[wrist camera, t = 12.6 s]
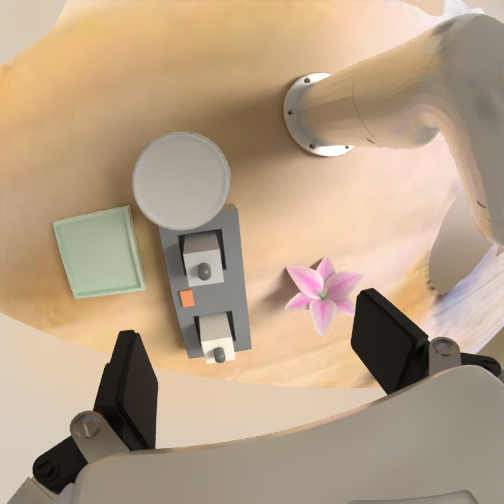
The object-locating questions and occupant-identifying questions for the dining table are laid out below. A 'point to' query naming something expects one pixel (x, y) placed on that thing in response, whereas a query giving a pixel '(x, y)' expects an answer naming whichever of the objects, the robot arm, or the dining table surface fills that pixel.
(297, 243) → the dining table surface
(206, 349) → the cream plug
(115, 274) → the sage tray
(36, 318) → the dining table surface
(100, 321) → the dining table surface
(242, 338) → the power strip
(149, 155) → the coffee cup
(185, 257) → the grey twin plug
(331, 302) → the lily
